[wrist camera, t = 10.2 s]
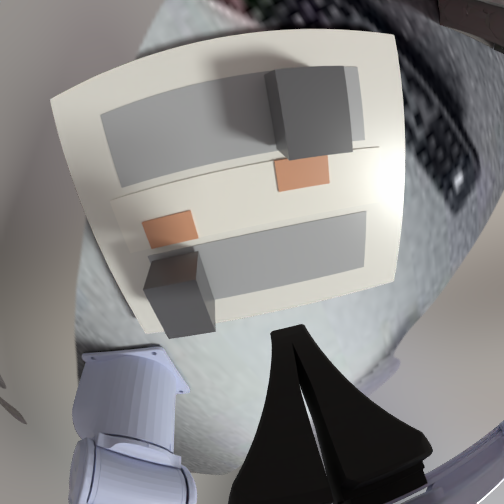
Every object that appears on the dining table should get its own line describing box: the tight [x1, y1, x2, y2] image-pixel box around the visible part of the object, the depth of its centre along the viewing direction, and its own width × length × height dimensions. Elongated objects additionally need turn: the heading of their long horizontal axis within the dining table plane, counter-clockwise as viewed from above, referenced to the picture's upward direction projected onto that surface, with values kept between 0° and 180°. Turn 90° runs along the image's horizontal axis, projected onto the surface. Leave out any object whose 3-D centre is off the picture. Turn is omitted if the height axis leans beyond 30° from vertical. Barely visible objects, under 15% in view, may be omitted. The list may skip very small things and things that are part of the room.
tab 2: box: [264, 66, 353, 161], centre depth 11 cm, size 3×4×3 cm
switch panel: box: [50, 29, 405, 334], centre depth 16 cm, size 20×18×2 cm
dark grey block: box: [143, 251, 216, 339], centre depth 16 cm, size 3×4×3 cm
